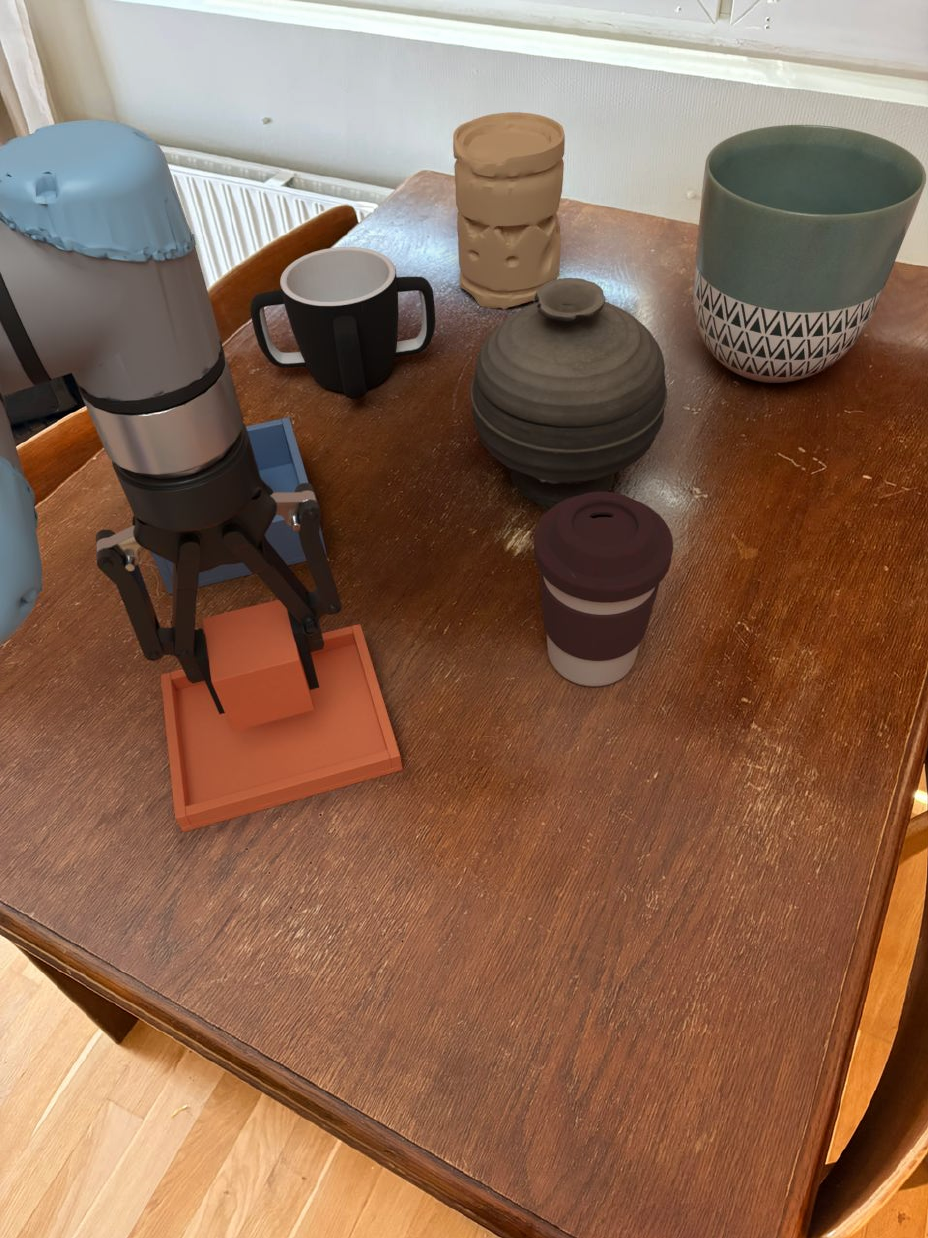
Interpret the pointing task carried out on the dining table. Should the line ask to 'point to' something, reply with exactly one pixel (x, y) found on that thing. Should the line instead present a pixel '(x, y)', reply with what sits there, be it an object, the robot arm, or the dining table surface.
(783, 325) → the planter
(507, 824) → the dining table surface
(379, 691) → the clay tray
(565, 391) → the pot
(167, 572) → the blue bin
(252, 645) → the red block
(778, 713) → the dining table surface
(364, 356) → the mug
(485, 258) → the container
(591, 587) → the coffee cup
